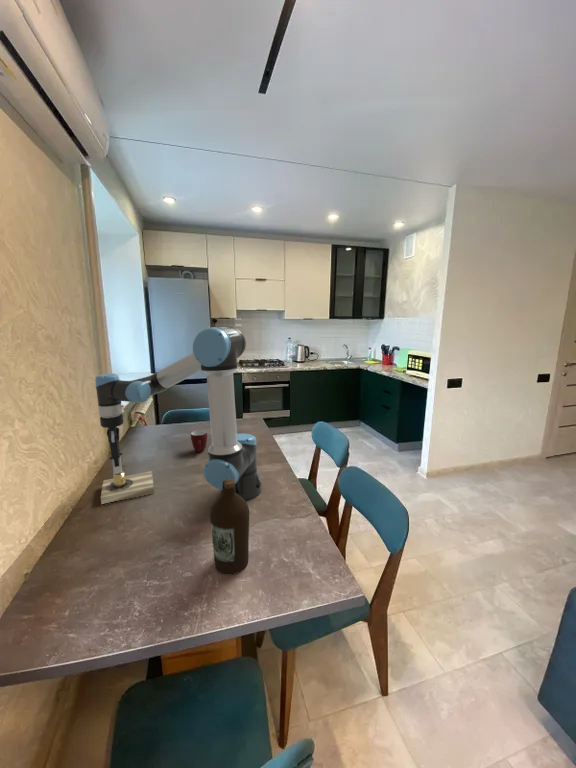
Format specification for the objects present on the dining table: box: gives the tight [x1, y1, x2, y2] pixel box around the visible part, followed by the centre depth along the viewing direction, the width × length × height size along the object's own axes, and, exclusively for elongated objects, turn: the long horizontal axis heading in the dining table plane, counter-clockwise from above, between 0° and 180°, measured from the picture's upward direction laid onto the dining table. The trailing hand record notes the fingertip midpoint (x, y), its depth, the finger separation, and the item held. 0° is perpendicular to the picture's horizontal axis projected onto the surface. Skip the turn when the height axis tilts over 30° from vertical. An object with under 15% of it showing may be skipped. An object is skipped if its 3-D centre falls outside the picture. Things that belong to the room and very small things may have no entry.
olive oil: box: [209, 479, 250, 575], centre depth 86 cm, size 11×11×25 cm
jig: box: [100, 471, 155, 505], centre depth 125 cm, size 14×18×3 cm
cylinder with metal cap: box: [112, 470, 126, 489], centre depth 123 cm, size 4×4×8 cm
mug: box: [190, 429, 208, 453], centre depth 160 cm, size 10×8×10 cm
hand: (118, 472), depth 122 cm, fingers closed
